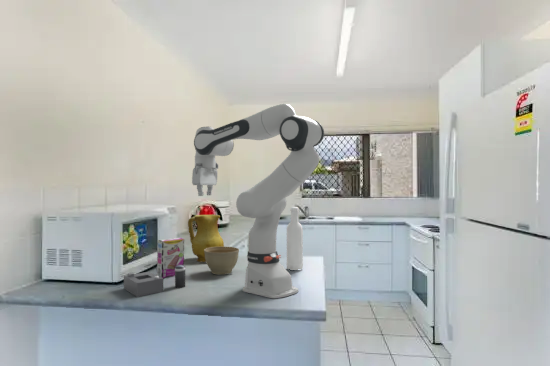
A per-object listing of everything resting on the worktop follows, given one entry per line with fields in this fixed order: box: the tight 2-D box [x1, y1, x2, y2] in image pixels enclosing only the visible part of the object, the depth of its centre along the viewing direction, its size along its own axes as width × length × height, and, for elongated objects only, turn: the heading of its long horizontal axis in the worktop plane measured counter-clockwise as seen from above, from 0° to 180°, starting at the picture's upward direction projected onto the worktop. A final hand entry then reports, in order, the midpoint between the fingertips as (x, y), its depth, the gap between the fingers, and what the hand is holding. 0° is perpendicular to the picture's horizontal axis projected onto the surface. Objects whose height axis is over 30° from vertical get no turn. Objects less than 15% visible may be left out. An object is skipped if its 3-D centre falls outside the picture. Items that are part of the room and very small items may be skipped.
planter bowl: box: [204, 246, 240, 276], centre depth 166 cm, size 16×16×11 cm
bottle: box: [286, 206, 304, 270], centre depth 173 cm, size 8×8×30 cm
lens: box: [174, 264, 186, 289], centre depth 143 cm, size 4×4×8 cm
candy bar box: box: [156, 237, 185, 279], centre depth 161 cm, size 11×5×16 cm, turn 137°
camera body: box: [123, 271, 164, 298], centre depth 139 cm, size 14×10×6 cm
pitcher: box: [187, 214, 225, 263], centre depth 195 cm, size 17×19×25 cm
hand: (205, 195), depth 157 cm, fingers open, 8 cm apart
